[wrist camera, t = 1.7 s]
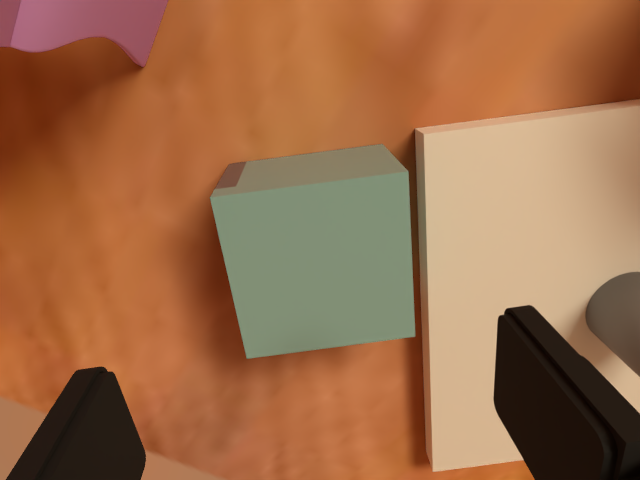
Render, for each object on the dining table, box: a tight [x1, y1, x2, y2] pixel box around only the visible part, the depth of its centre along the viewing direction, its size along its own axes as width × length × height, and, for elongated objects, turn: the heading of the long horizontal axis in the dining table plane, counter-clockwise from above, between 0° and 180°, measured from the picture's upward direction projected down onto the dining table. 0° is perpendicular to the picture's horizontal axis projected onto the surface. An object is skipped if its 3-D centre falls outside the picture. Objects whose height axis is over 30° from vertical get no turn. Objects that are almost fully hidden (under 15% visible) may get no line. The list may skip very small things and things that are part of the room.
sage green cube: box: [210, 144, 415, 359], centre depth 19 cm, size 7×7×5 cm
